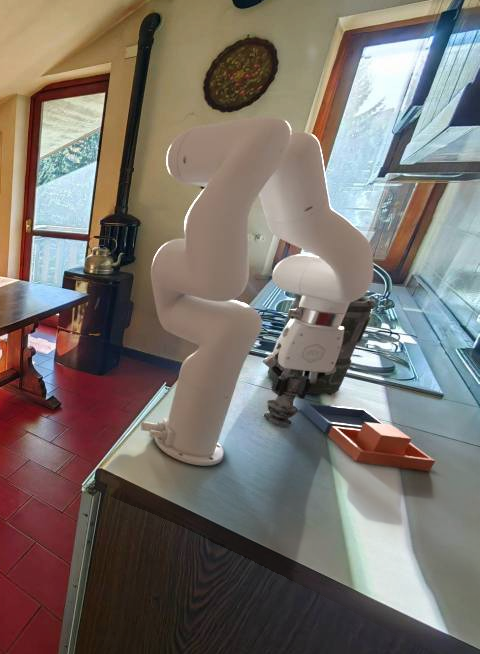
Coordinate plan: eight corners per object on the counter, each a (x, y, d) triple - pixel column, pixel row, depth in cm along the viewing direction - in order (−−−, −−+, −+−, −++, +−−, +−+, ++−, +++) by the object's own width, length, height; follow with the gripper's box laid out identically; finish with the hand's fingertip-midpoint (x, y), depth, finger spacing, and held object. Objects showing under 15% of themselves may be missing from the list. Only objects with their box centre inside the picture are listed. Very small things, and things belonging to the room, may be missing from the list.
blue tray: (324, 432, 87) (328, 423, 86) (301, 411, 95) (305, 402, 94) (389, 440, 85) (394, 430, 84) (359, 418, 93) (364, 409, 92)
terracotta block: (371, 455, 79) (381, 435, 77) (354, 441, 83) (364, 421, 81) (400, 459, 78) (412, 438, 76) (382, 444, 82) (392, 425, 80)
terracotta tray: (355, 461, 78) (361, 451, 77) (327, 435, 86) (332, 425, 85) (429, 471, 75) (435, 461, 74) (393, 443, 84) (398, 433, 83)
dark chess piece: (298, 427, 87) (319, 380, 83) (269, 424, 88) (288, 376, 84) (284, 414, 92) (303, 368, 88) (257, 411, 93) (274, 365, 89)
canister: (259, 381, 110) (293, 284, 99) (273, 366, 120) (306, 276, 109) (332, 403, 99) (379, 296, 88) (341, 385, 109) (385, 286, 98)
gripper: (282, 318, 79) (253, 397, 86) (378, 326, 76) (340, 408, 83) (265, 308, 86) (239, 382, 93) (352, 316, 83) (319, 392, 90)
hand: (287, 393), depth 88 cm, fingers closed on dark chess piece, 3 cm apart
